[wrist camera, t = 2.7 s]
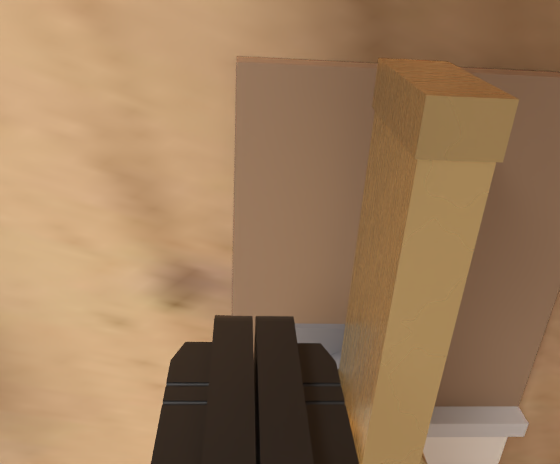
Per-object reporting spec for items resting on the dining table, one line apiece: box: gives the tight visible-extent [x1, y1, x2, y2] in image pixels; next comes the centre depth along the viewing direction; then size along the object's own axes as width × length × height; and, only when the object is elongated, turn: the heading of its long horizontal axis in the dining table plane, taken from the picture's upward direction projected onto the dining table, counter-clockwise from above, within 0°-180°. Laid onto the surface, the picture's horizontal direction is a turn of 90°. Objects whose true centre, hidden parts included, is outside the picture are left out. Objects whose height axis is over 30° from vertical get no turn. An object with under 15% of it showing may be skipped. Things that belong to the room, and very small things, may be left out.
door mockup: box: [232, 56, 560, 464], centre depth 22 cm, size 24×13×4 cm, turn 177°
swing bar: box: [338, 58, 519, 464], centre depth 17 cm, size 15×4×5 cm, turn 177°
